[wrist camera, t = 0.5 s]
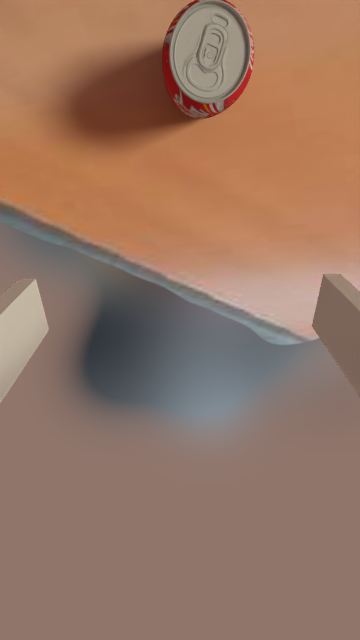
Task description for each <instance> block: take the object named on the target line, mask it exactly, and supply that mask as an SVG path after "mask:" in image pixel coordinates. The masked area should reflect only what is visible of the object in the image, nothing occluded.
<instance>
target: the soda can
mask: <svg viewBox="0 0 360 640" xmlns="http://www.w3.org/2000/svg"><path fill="white" fill-rule="evenodd" d="M253 62H254V44H253V38H252V34H251V31H250V28H249V25H248V23H247V21H246V19H245V18H244V16H243V15H242V14H241V12H240V11H239V10H238V9H237V8H236V7H235V6H234V5H232V4H231V3H229V2H228V1H226V0H195V1H193V2H191V3H189V4H188V5H187V6H185V7H184V8H183V9H182V10H181V11H180V12H179V13H178V14H177V15H176V17H175V18H174V20H173V21H172V23H171V25H170V27H169V29H168V31H167V34H166V37H165V40H164V45H163V53H162V66H163V75H164V80H165V84H166V87H167V90H168V93H169V95H170V97H171V99H172V101H173V103H174V104H175V105H176V107H177V108H178V109H179V110H180V111H181V112H183V113H184V114H186V115H188V116H190V117H193V118H198V119H204V118H209V117H212V116H215V115H217V114H219V113H221V112H223V111H224V110H226V109H227V108H229V107H230V106H231V105H232V104H233V103H234V102H235V101H236V100H237V99H238V98H239V96H240V95H241V94H242V92H243V91H244V89H245V87H246V86H247V83H248V81H249V79H250V76H251V72H252V68H253Z"/></svg>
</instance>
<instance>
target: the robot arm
mask: <svg viewBox="0 0 360 640" xmlns="http://www.w3.org/2000/svg"><path fill="white" fill-rule="evenodd" d="M312 327H313V329H314V330H315V331H316V333H317V334H318V336H319V337H320V339H321V340H322V342H323V343H324V345H325V346H326V348H327V349H328V351H329V352H330V354H331V355H332V357H333V358H334V360H335V361H336V363H337V364H338V366H339V367H340V369H341V370H342V371H343V373H344V375H345V376H346V378H347V379H348V380H349V382H350V383H351V385H352V386H353V388H354V389H355V391H356V392H357V394H358V395H359V397H360V291H359V290H358V289H356V288H355V287H354V286H353V285H352V284H351V283H350V282H349V281H347V280H346V279H345V278H344V277H343V276H342V275H341V274H323V278H322V283H321V287H320V292H319V296H318V301H317V306H316V310H315V315H314V319H313V324H312ZM48 331H49V328H48V325H47V321H46V317H45V313H44V309H43V305H42V301H41V297H40V294H39V290H38V286H37V282H36V279H19V280H17V282H15V283H14V284H13V285H12V286H11V287H10V288H9V289H8V290H7V291H5V292H4V293H3V294H2V295H1V296H0V403H1V401H2V400H3V398H4V397H5V395H6V394H7V392H8V391H9V389H10V388H11V386H12V385H13V383H14V382H15V380H16V379H17V377H18V376H19V374H20V373H21V371H22V370H23V368H24V367H25V365H26V364H27V362H28V361H29V359H30V358H31V356H32V355H33V353H34V352H35V350H36V348H37V347H38V346H39V344H40V343H41V341H42V340H43V338H44V337H45V335H46V334H47V332H48Z"/></svg>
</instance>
